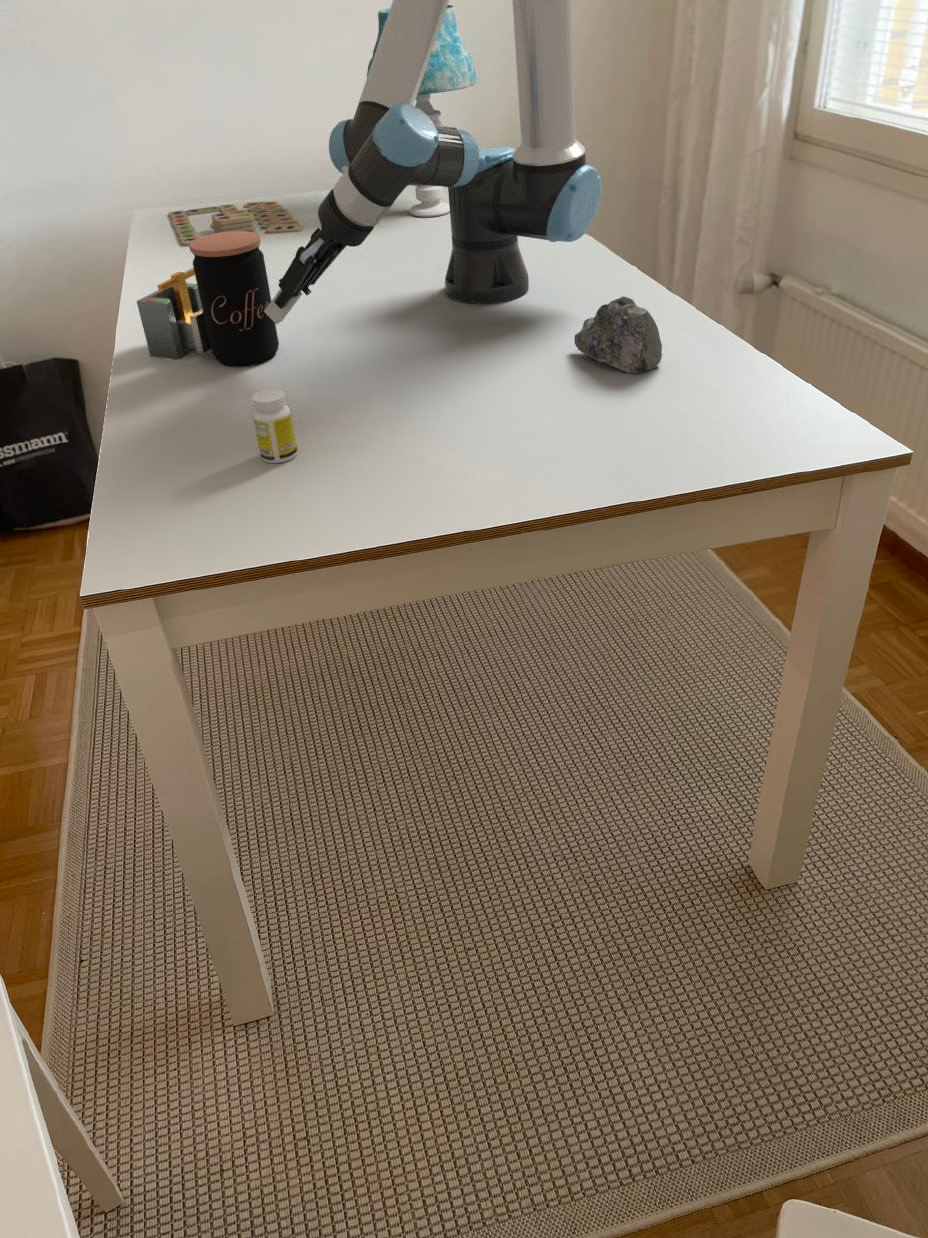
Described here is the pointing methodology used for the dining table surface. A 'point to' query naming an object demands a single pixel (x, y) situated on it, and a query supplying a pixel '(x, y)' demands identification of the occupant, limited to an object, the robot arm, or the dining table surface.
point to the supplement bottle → (274, 426)
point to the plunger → (188, 314)
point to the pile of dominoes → (236, 220)
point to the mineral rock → (621, 337)
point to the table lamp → (442, 74)
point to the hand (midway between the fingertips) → (272, 316)
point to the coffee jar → (235, 297)
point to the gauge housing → (165, 321)
